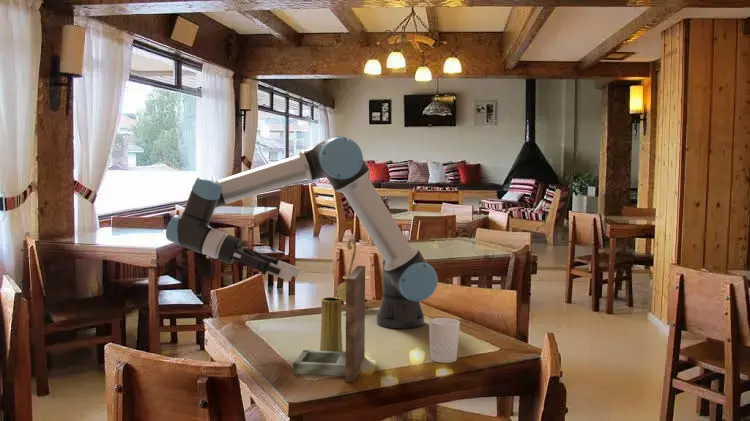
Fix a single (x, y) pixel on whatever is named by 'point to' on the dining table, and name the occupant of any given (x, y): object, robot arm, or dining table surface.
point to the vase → (331, 325)
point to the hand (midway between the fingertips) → (295, 274)
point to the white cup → (444, 339)
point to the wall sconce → (342, 287)
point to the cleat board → (355, 337)
